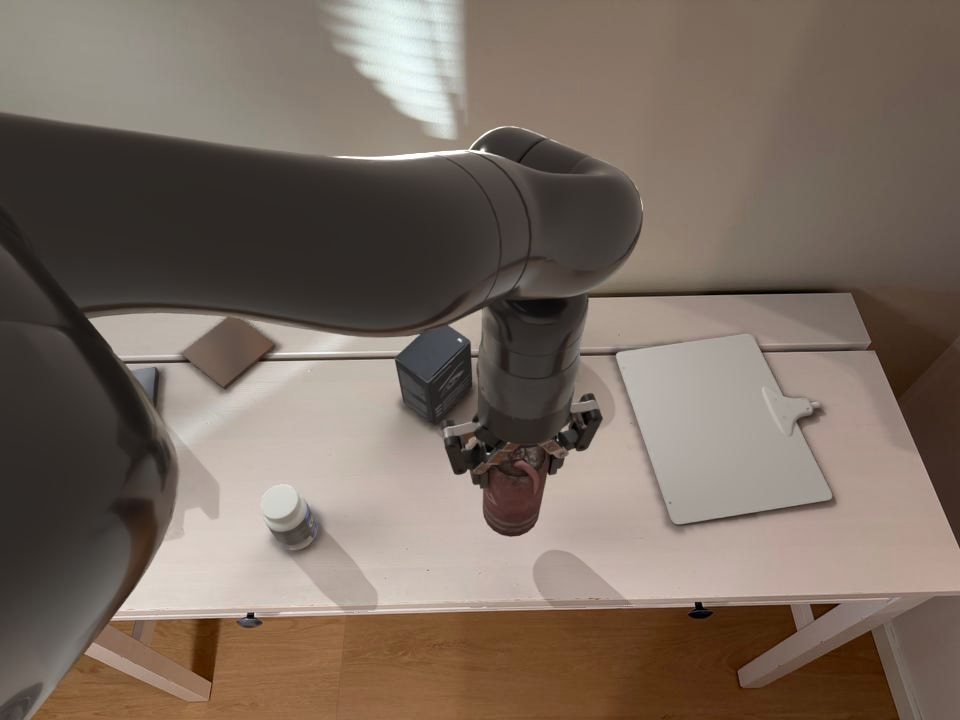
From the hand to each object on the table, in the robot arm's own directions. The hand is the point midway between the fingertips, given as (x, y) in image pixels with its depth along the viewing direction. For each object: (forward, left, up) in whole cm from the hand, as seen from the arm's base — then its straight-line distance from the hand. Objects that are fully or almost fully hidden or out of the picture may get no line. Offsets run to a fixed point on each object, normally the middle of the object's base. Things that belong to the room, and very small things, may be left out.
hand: (516, 472), depth 64 cm
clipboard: (+29, -13, -15) cm, 35 cm away
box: (+9, +18, -15) cm, 26 cm away
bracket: (-18, +49, -15) cm, 55 cm away
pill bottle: (-15, +19, -15) cm, 29 cm away
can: (0, 0, -10) cm, 10 cm away
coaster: (-3, +46, -15) cm, 48 cm away
